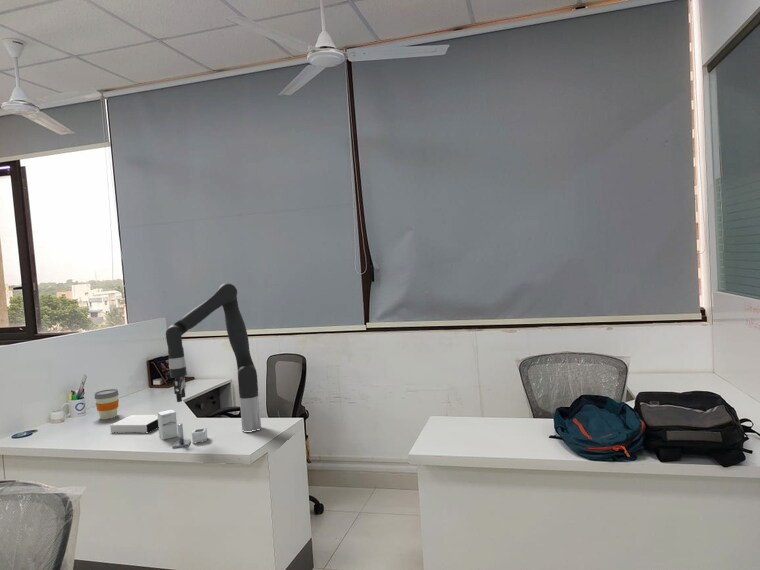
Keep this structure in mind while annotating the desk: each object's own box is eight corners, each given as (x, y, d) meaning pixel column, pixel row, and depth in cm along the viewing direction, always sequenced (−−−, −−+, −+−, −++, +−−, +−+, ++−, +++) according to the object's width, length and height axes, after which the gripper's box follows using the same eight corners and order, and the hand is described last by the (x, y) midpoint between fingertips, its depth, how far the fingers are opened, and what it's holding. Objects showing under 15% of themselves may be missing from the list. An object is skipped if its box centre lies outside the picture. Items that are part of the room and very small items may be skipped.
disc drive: (148, 434, 271) (147, 424, 271) (110, 434, 276) (109, 424, 275) (168, 423, 288) (168, 414, 288) (132, 423, 293) (132, 414, 292)
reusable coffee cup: (124, 413, 313) (122, 388, 312) (112, 419, 301) (109, 394, 300) (105, 414, 314) (102, 389, 314) (91, 420, 302) (89, 395, 301)
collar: (207, 437, 257) (206, 427, 257) (205, 441, 251) (204, 431, 251) (194, 439, 256) (193, 429, 255) (192, 443, 250) (191, 433, 250)
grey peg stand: (190, 441, 253) (188, 421, 252) (188, 446, 246) (186, 425, 246) (175, 443, 252) (173, 423, 251) (172, 448, 245) (170, 427, 244)
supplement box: (162, 440, 258) (160, 415, 257) (159, 436, 264) (156, 412, 263) (178, 436, 262) (176, 411, 261) (174, 433, 268) (172, 408, 267)
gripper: (182, 368, 246) (186, 402, 247) (188, 362, 260) (191, 394, 261) (166, 370, 245) (170, 404, 246) (172, 364, 259) (176, 396, 260)
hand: (181, 399), depth 254 cm, fingers open, 8 cm apart
